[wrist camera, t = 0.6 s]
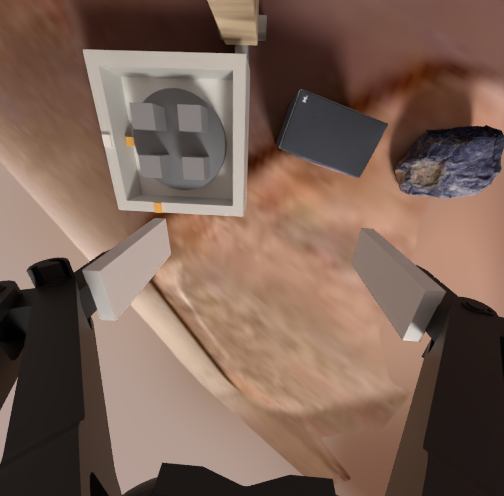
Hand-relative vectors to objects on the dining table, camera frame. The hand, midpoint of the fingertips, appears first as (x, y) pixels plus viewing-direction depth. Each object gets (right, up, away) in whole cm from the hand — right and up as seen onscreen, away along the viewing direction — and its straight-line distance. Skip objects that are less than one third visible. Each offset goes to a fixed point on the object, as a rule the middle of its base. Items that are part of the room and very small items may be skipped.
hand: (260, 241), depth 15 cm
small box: (+9, +16, +19) cm, 27 cm away
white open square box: (-11, +16, +20) cm, 28 cm away
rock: (+27, +13, +20) cm, 35 cm away
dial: (-11, +15, +18) cm, 26 cm away
